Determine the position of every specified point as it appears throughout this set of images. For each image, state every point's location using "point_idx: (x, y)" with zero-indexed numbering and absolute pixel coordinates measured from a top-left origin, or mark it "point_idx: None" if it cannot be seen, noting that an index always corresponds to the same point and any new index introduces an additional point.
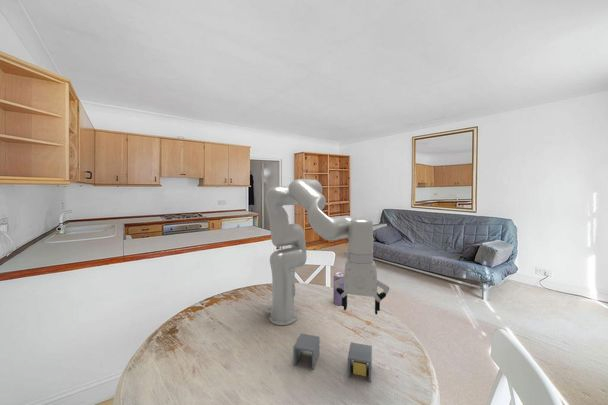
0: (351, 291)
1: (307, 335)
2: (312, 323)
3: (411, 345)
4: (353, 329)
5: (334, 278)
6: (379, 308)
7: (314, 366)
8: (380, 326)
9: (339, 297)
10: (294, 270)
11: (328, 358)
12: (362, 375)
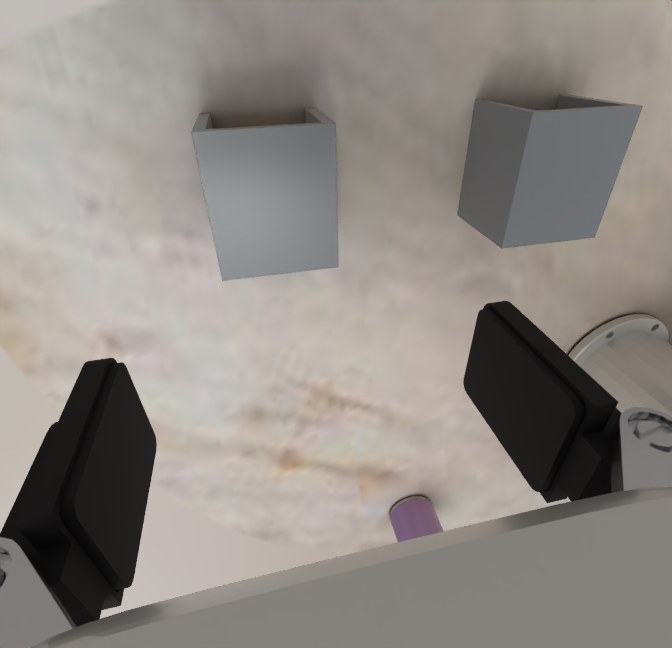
0: (670, 574)
1: (562, 232)
2: None
3: None
4: (338, 405)
5: None
6: (46, 445)
7: (475, 117)
8: (239, 460)
9: (419, 526)
10: None
11: (416, 202)
12: None
